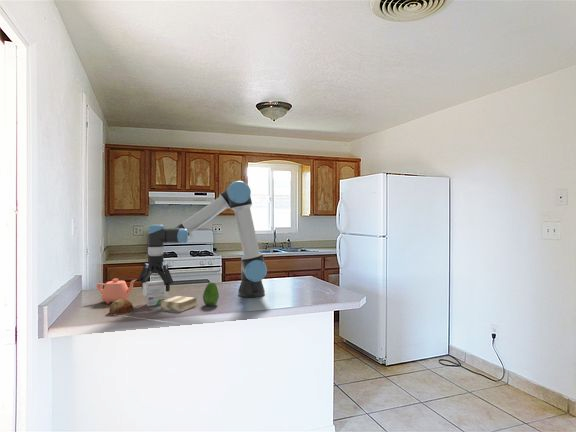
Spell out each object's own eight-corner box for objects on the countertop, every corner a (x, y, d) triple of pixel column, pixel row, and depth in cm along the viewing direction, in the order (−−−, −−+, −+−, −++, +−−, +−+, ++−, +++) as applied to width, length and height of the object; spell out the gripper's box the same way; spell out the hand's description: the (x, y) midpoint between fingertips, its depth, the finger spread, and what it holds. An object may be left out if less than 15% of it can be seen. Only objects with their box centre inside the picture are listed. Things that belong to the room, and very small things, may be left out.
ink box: (164, 302, 199) (163, 279, 200) (164, 304, 195) (163, 281, 195) (147, 304, 197) (146, 281, 197) (146, 306, 192) (145, 282, 192)
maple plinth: (196, 305, 193) (196, 297, 192) (181, 311, 181) (181, 303, 181) (176, 303, 197) (176, 295, 197) (160, 309, 186) (160, 300, 186)
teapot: (134, 303, 198) (134, 280, 198) (92, 305, 194) (92, 281, 194) (139, 298, 211) (139, 276, 211) (100, 299, 208) (100, 277, 207)
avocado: (219, 307, 191) (219, 283, 191) (203, 308, 189) (203, 284, 189) (217, 303, 199) (217, 280, 199) (202, 304, 197) (202, 281, 197)
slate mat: (198, 305, 194) (198, 304, 194) (178, 313, 180) (178, 312, 180) (169, 302, 201) (169, 301, 201) (148, 309, 186) (148, 308, 186)
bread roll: (118, 316, 187) (111, 302, 187) (137, 307, 188) (130, 292, 187) (110, 322, 177) (103, 307, 177) (131, 312, 178) (123, 297, 177)
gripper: (180, 255, 194) (180, 297, 194) (141, 252, 204) (141, 292, 204) (170, 257, 187) (170, 300, 188) (131, 254, 197) (131, 295, 197)
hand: (155, 296), depth 196 cm, fingers open, 13 cm apart
